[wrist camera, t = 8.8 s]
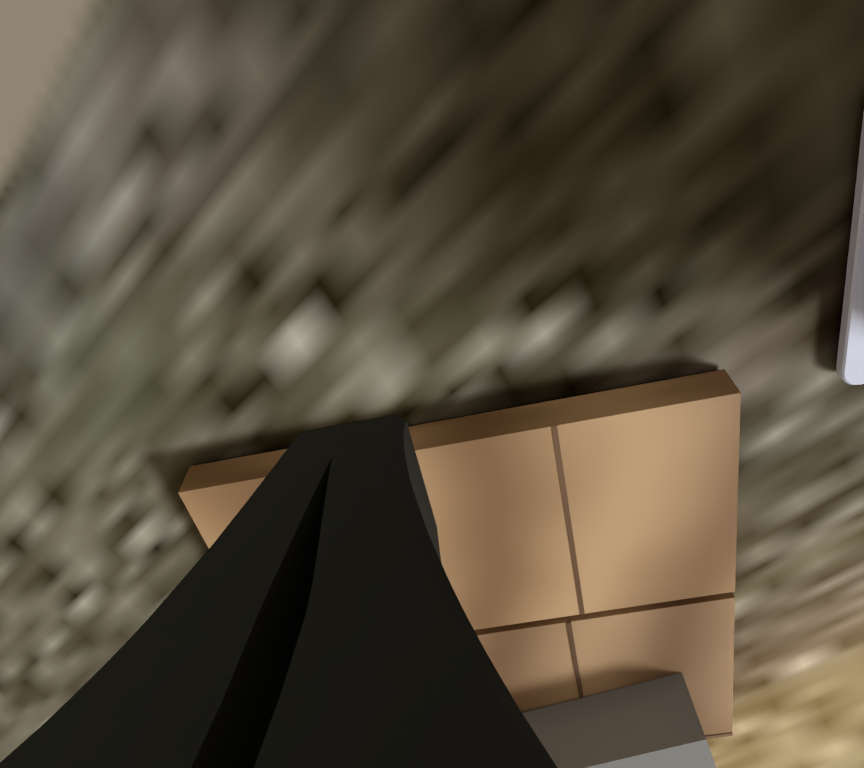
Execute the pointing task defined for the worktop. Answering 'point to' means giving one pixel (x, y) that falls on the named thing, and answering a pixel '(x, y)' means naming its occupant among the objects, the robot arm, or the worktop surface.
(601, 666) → the laid strip
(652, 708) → the block
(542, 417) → the board
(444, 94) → the worktop surface
